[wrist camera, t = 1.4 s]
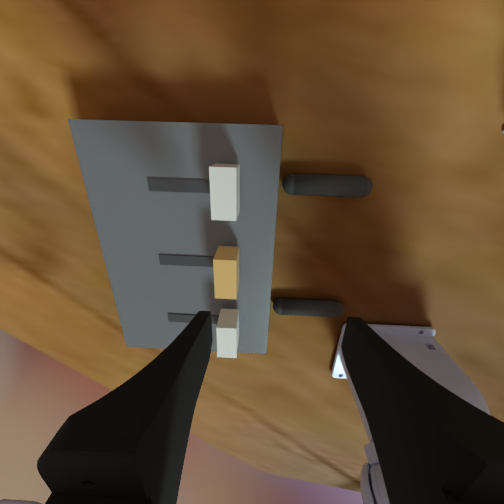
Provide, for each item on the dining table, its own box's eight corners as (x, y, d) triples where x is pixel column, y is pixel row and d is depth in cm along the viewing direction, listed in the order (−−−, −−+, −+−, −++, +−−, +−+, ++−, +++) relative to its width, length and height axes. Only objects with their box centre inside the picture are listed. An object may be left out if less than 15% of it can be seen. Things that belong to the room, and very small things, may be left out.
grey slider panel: (279, 127, 18) (283, 125, 15) (265, 331, 26) (266, 354, 23) (96, 122, 18) (66, 118, 15) (140, 325, 27) (126, 347, 24)
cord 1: (369, 175, 19) (378, 177, 18) (364, 195, 20) (373, 199, 18) (282, 172, 19) (284, 174, 18) (281, 192, 20) (282, 196, 19)
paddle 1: (239, 164, 16) (236, 167, 14) (239, 211, 17) (236, 221, 15) (216, 163, 16) (208, 166, 14) (217, 210, 17) (211, 220, 15)
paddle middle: (239, 246, 18) (236, 260, 16) (239, 282, 20) (236, 299, 18) (218, 245, 18) (213, 259, 16) (220, 281, 20) (214, 298, 18)
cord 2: (342, 298, 24) (347, 307, 23) (339, 310, 25) (344, 320, 23) (273, 294, 24) (273, 304, 23) (272, 307, 25) (272, 317, 24)
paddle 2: (239, 309, 21) (236, 328, 19) (238, 337, 22) (236, 358, 20) (220, 308, 21) (216, 327, 19) (221, 336, 22) (217, 357, 20)
